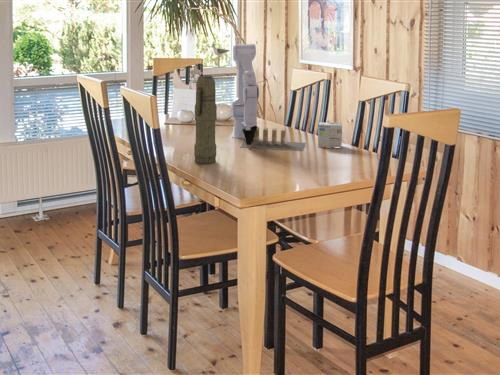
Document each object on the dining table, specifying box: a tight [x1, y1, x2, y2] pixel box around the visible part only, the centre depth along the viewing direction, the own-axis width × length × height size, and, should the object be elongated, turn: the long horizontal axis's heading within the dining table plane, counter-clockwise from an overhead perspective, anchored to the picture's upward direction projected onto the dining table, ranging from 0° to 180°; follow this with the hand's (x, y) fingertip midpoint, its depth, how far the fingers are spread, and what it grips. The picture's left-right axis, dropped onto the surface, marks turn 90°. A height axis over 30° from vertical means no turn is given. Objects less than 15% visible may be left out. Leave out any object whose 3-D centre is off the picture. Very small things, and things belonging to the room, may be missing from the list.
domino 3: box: [262, 127, 269, 145], centre depth 352 cm, size 2×5×7 cm, turn 172°
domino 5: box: [280, 128, 287, 146], centre depth 351 cm, size 2×5×7 cm, turn 172°
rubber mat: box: [239, 139, 307, 152], centre depth 351 cm, size 18×28×1 cm, turn 82°
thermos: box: [193, 74, 218, 165], centre depth 314 cm, size 9×12×35 cm
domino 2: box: [254, 127, 260, 145], centre depth 353 cm, size 2×5×7 cm, turn 172°
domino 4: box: [271, 127, 278, 146], centre depth 352 cm, size 2×5×7 cm, turn 172°
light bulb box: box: [317, 121, 343, 149], centre depth 350 cm, size 11×7×11 cm, turn 84°
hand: (249, 143), depth 346 cm, fingers closed on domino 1, 5 cm apart
